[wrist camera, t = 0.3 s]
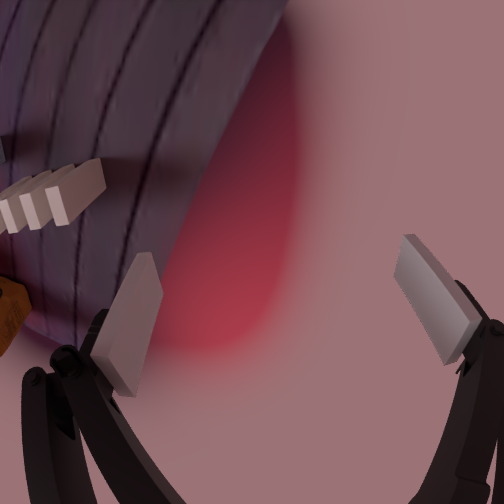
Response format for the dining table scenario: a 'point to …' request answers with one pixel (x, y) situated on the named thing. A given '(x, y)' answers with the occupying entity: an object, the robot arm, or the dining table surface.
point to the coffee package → (12, 310)
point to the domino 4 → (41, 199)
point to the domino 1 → (1, 153)
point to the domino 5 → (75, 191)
